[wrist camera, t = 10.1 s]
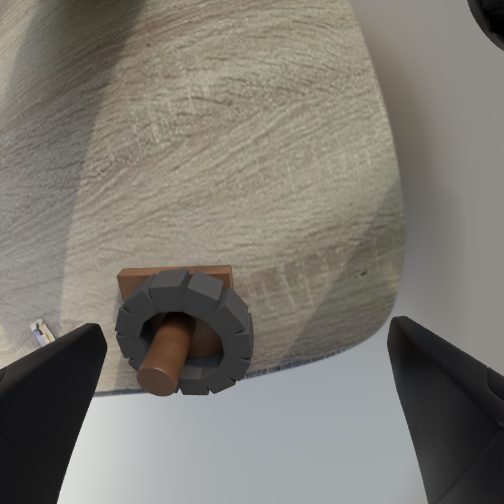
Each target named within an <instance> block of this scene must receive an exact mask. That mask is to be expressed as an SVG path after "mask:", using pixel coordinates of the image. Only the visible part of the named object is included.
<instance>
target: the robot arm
mask: <svg viewBox="0 0 504 504" xmlns="http://www.w3.org/2000/svg"><path fill="white" fill-rule="evenodd" d="M481 2H482V6H483V10H484V14H485V19H486V24H487V28H488V31H489V32H490V33H491V34H492V35H495V36H497V37H500V38H502V39H504V0H481ZM492 28H493V29H494V30H493V29H492ZM387 346H388V352H389V356H390V361H391V365H392V370H393V375H394V380H395V384H396V389H397V392H398V396H399V399H400V401H401V405H402V408H403V411H404V415H405V417H406V421H407V424H408V427H409V431H410V434H411V438H412V442H413V445H414V449H415V452H416V455H417V459H418V463H419V467H420V471H421V475H422V479H423V483H424V487H425V491H426V496H427V500H428V504H504V376H502V375H500V374H499V373H497V372H496V371H494V370H493V369H491V368H489V367H488V368H487V366H486V365H485V364H483V363H481V362H480V361H478V360H476V359H475V358H473V357H472V356H470V355H469V354H467V353H465V352H464V351H462V350H460V349H459V348H457V347H456V346H454V345H452V344H451V343H449V342H447V341H446V340H444V339H442V338H441V337H439V336H438V335H436V334H434V333H433V332H431V331H429V330H428V329H426V328H424V327H423V326H421V325H420V324H417V323H416V322H414V321H413V320H411V319H410V318H408V317H406V316H400V317H393V318H392V320H391V323H390V328H389V334H388V340H387ZM106 353H107V343H106V340H105V337H104V335H103V332H102V329H101V327H100V325H99V324H97V323H86V324H84V325H82V326H81V327H79V328H77V329H75V330H73V331H71V332H69V333H67V334H65V335H64V336H62V337H60V338H58V339H56V340H54V341H52V342H50V343H49V344H47V345H45V346H43V347H41V348H39V349H37V350H36V351H34V352H32V353H30V354H28V355H26V356H24V357H23V358H21V359H19V360H17V361H15V362H13V363H11V364H10V365H8V366H6V367H4V368H2V369H0V504H57V501H58V498H59V494H60V493H59V492H60V490H61V487H62V483H63V480H64V477H65V474H66V471H67V467H68V464H69V461H70V458H71V455H72V452H73V449H74V446H75V443H76V441H77V438H78V435H79V432H80V429H81V427H82V423H83V421H84V418H85V416H86V413H87V410H88V408H89V405H90V402H91V400H92V397H93V395H94V392H95V389H96V386H97V383H98V380H99V376H100V373H101V369H102V366H103V363H104V359H105V356H106Z"/></svg>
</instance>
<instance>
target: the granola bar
mask: <svg viewBox="0 0 504 504" xmlns="http://www.w3.org/2000/svg"><path fill="white" fill-rule="evenodd" d="M29 325H30V328H31V329H32V333H33V335H34V336H35V338H36V339H37V341H38V342H39V344H40V345H41V346H42V347H43V346H45V345H47V344H49V343H50V342H52V341H54V340H56V339H55V338H54V336H53V335H52V334H51V332H50V331H49V329H48V328H47V326H46V325H45V324H43V322H42V320H41V318H40V319H38V320H37V321H35V322H32V323H30V324H29Z"/></svg>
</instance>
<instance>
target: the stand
mask: <svg viewBox="0 0 504 504" xmlns="http://www.w3.org/2000/svg"><path fill="white" fill-rule="evenodd" d="M177 269H188V270H189V274H190V279H191V278H192V276H193V273H194V271H195V270H197V271H200V272H202V273H205V274H207V275H209V276H212V277H214V278H216V279H219V280H221V281H223V282H224V284H223V287H222V290H224V289H225V288H227V287H229V286H230V287H231V288H232V289H233V290H234V288H233V279H232V269H231V265H220V266H192V267H162V268H129V269H122V270H121V272H120V273H119V274H118V275H117V279H118V283H119V287H120V290H121V294H122V298H123V302H125V300H126V299H127V298H128V296H129V295H130V294H131V292H132V291H133V290H134V288H135V287H136V286H137V285H139V284H140V283H141V282H143V281H144V280H145V279H146V278H148V277H149V276H150V275H152V274H153V273H155V274H156V276H157V275H158V273H159V272H160V271H163V270H177ZM149 321H150V324H151V327H152V330H153V333H154V336H155V337H154V339H153V341H152V343H151V345H150V347H149V349H148V351H147V354H146V356H145V358H144V360H143V362H142V364H141V366H140V368H139V370H138V372H137V381H138V383H139V385H140V386H141V387H142V388H143V389H144V390H146V391H147V392H149V393H151V394H153V395H156V396H169V395H171V394H173V393H174V392H175V390H176V388H177V385H178V381H179V378H180V375H181V372H182V369H183V366H184V363H185V360H186V358H201V357H207V356H209V355H211V354H213V353H215V352H217V351H219V350H221V348H222V342H221V338H220V337H219V336H218V335H217V333H216V332H215V331H214V330H213V329H212V328H211V327H210V326H209V325H208V324H207V323H206V322H205V321H203V320H201V319H198V318H196V317H193V316H191V315H189V314H186V313H184V312H159V313H157V314H156V315H154V316H153V317H151V318H150V320H149Z"/></svg>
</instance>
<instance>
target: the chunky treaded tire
mask: <svg viewBox="0 0 504 504" xmlns="http://www.w3.org/2000/svg"><path fill="white" fill-rule="evenodd" d="M223 284H224V282H223V281H221V280H219V279H216V278H214V277H212V276H209V275H207V274H205V273H202V272H200V271H197V270H195V271H194V273H193V276H192V278H191V279H190V274H189V270H188V269H177V270H163V271H160V272H159V273H158V275H157V276H156V274H155V273H153V274H152V275H150V276H149V277H148V278H146V279H145V280H144V281H143V282H141V283H140V284H139V285H137V286H136V287H135V288H134V290H133V291H132V292H131V294H130V295H129V296H128V298H127V299H126V300H125V302H124V303H123V305H122V306H121V308H120V309H119V314H118V318H117V323H116V327H115V331H117V332H118V333H117V335H116V338H117V341H118V343H119V346H120V348H121V351H122V353H123V356H124V358H130V360H129V362H128V363H129V364H130V365H131V366H132V367H133V368H134V369H135V370H136V371H137V372H138V370H139V368H140V366H141V364H142V362H143V360H144V358H145V356H146V354H147V351H148V349H149V347H150V345H151V343H152V341H153V339H154V337H155V336H154V333H153V330H152V327H151V324H150V321H149V320H150V318H151V317H153V316H154V315H156V314H157V313H159V312H184V313H186V314H189V315H191V316H193V317H196V318H198V319H201V320H203V321H205V322H206V323H207V324H208V325H209V326H210V327H211V328H212V329H213V330H214V331H215V332H216V333H217V335H218V336H219V337H220V338H221V342H222V348H221V350H219V351H217V352H215V353H213V354H211V355H209V356H207V357H201V358H186V360H185V363H184V366H183V369H182V372H181V375H180V378H179V381H178V385H177V388H176V390H175V392H174V393H177V392H178V390H179V387H180V388H181V391H182V394H183V395H208V394H209V390H210V391H211V392H212V393H214V394H215V393H217V392H220V391H222V390H224V389H227V388H229V387H231V386H233V385H235V383H236V380H238V381H240V380H241V378H242V377H243V375H244V373H245V372H246V370H247V369H248V367H249V365H250V364H251V357H252V354H253V340H254V334H253V326H252V319H251V314H250V313H247V311H248V307H247V305H246V304H245V303H244V302H243V301H242V300H241V298H240V297H239V296H238V295H237V294H236V293H235V291H234V290H233V289H232V288H231V287H230V286H229V287H227V288H225V289H224V290H222V287H223Z"/></svg>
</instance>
